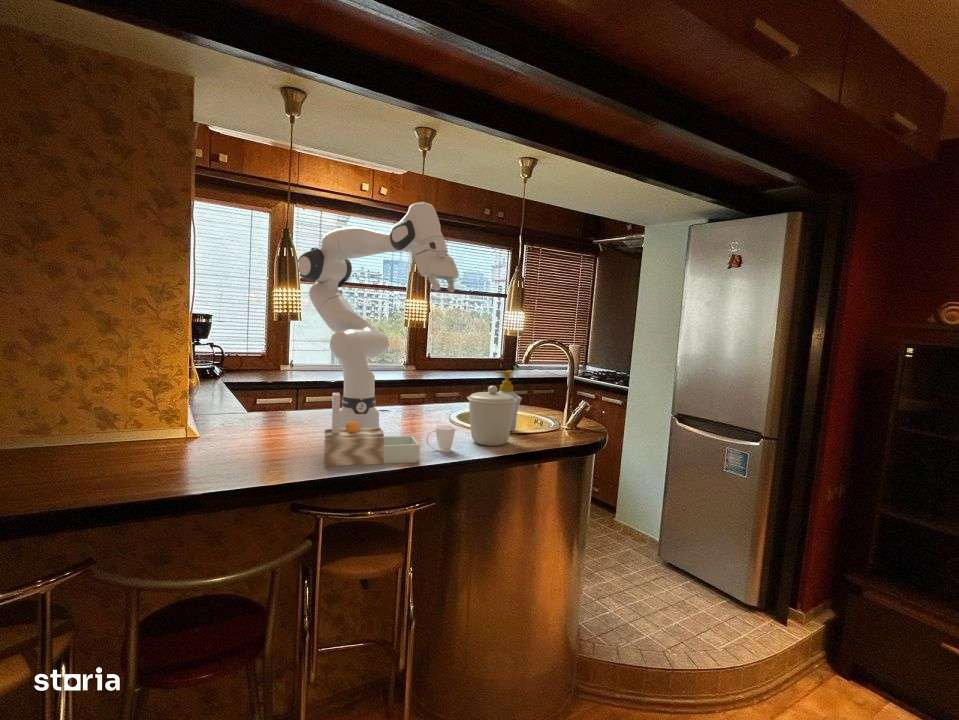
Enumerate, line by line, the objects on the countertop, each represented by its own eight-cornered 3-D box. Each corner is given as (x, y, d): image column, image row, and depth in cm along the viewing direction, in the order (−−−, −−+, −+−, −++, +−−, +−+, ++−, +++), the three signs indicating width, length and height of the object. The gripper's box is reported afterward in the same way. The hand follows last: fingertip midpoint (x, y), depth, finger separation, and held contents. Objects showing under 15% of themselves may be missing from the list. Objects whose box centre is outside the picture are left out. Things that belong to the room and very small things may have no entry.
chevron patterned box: (324, 466, 143) (325, 436, 142) (324, 455, 154) (324, 427, 153) (383, 463, 149) (384, 435, 148) (379, 453, 159) (380, 426, 159)
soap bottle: (482, 428, 202) (485, 369, 200) (504, 425, 210) (508, 368, 208) (503, 435, 192) (506, 372, 190) (526, 431, 200) (529, 371, 198)
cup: (457, 452, 165) (458, 428, 164) (428, 454, 161) (429, 430, 161) (451, 447, 171) (452, 424, 171) (423, 448, 168) (424, 425, 167)
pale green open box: (383, 463, 149) (384, 445, 148) (379, 453, 159) (379, 436, 159) (418, 462, 152) (419, 444, 151) (412, 452, 163) (412, 435, 162)
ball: (344, 432, 151) (345, 419, 151) (357, 432, 153) (358, 419, 153) (346, 435, 148) (346, 422, 147) (360, 435, 149) (360, 422, 149)
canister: (479, 434, 192) (482, 380, 190) (522, 441, 184) (525, 385, 182) (456, 443, 176) (458, 385, 174) (501, 452, 168) (505, 391, 166)
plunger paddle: (332, 435, 146) (333, 395, 145) (331, 431, 151) (332, 392, 150) (339, 435, 147) (340, 395, 145) (338, 431, 152) (339, 392, 151)
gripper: (441, 257, 171) (452, 295, 171) (408, 249, 153) (420, 292, 152) (456, 250, 169) (467, 289, 168) (424, 242, 150) (436, 285, 149)
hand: (444, 290), depth 160 cm, fingers open, 8 cm apart
